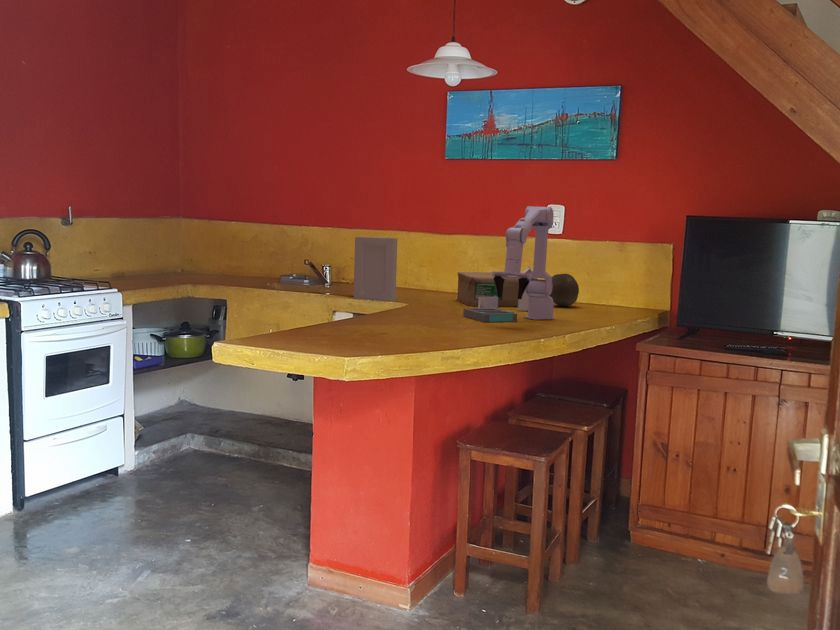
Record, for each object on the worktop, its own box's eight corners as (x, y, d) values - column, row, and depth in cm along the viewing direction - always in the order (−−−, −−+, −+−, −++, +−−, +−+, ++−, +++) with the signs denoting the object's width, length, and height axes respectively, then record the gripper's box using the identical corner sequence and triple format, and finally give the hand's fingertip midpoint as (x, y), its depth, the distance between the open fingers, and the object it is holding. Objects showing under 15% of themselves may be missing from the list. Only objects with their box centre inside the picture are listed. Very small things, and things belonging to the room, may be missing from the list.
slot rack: (494, 315, 326) (495, 307, 326) (517, 321, 310) (517, 313, 309) (463, 316, 321) (463, 307, 321) (484, 322, 304) (484, 313, 304)
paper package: (470, 307, 354) (472, 275, 352) (454, 300, 379) (455, 270, 377) (529, 307, 360) (530, 276, 358) (509, 301, 385) (511, 271, 383)
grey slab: (495, 313, 334) (496, 296, 333) (497, 313, 333) (498, 296, 332) (477, 313, 331) (478, 296, 330) (479, 314, 330) (480, 297, 329)
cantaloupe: (562, 304, 376) (564, 272, 374) (584, 308, 365) (586, 274, 363) (539, 305, 369) (541, 272, 367) (560, 309, 357) (562, 275, 355)
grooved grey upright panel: (402, 298, 380) (404, 238, 376) (392, 301, 366) (394, 238, 362) (364, 295, 385) (366, 236, 382) (352, 298, 371) (354, 236, 368)
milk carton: (519, 311, 345) (521, 266, 342) (517, 309, 352) (519, 265, 349) (536, 311, 345) (538, 266, 342) (534, 309, 352) (536, 265, 349)
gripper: (490, 258, 292) (486, 295, 292) (529, 260, 286) (525, 298, 285) (497, 260, 298) (493, 297, 298) (535, 262, 292) (531, 300, 292)
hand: (509, 298), depth 292 cm, fingers open, 7 cm apart
